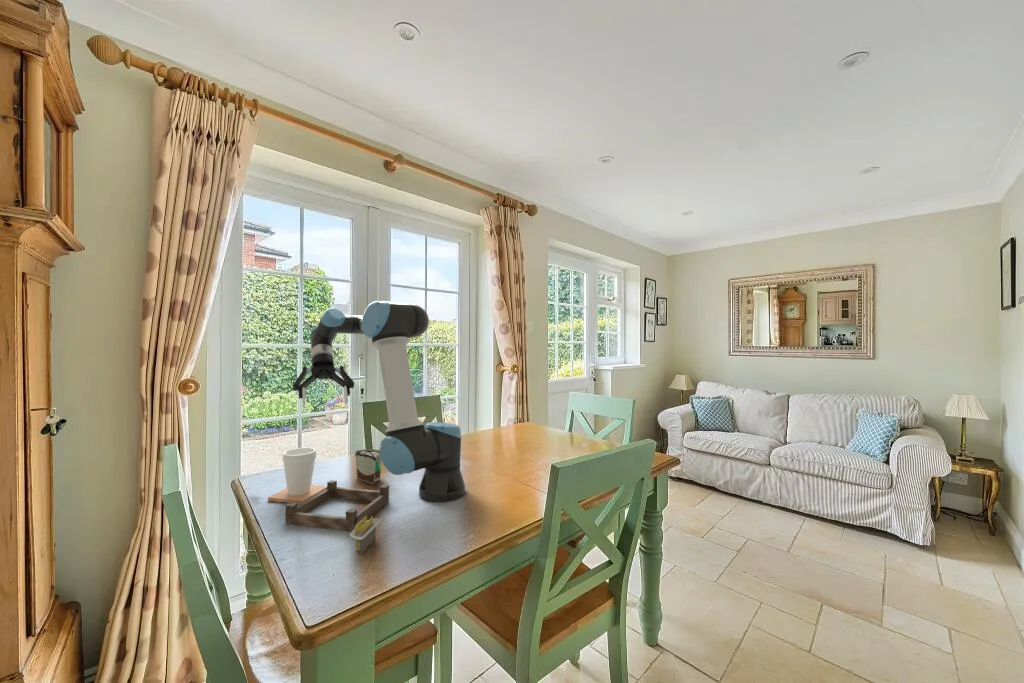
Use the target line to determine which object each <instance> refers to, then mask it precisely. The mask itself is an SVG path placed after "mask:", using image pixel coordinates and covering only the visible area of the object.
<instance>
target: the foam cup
mask: <svg viewBox="0 0 1024 683" xmlns="http://www.w3.org/2000/svg"><path fill="white" fill-rule="evenodd" d="M316 457H317V449H316V448H314V447H303V446H302V447H295V448H290V449H287V450H284V451H283V452H282V461H283V468H284V474H285V475H284V476H285V482H286V488H287V491H288V494H289V495H302V494H306V493H308V492H309V491H310V488H311V485H312V482H313V481H312V480H313V474H314V468H315V462H316Z"/></svg>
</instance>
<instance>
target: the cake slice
mask: <svg viewBox="0 0 1024 683" xmlns="http://www.w3.org/2000/svg"><path fill="white" fill-rule="evenodd" d="M354 457H355V466H356V467H355V468H356V479H357V480H359V481H362V480H363V481H362V482H365V481H366V483H369V484H371V485H375V484H379V482H380V480H381V471H382V463H383V462H382V460H381V457H380V449H374V448H366V449H359V450H355V453H354Z"/></svg>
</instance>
